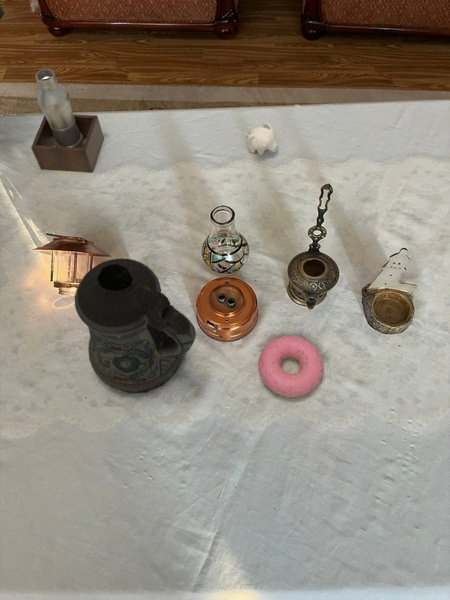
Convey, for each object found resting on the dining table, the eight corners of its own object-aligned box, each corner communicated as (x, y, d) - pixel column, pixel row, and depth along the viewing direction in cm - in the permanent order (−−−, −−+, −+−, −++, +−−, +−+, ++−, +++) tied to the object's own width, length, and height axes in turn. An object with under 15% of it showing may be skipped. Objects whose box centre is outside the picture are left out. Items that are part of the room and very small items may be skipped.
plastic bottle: (87, 140, 119) (60, 61, 101) (89, 161, 115) (62, 83, 98) (58, 145, 118) (27, 66, 101) (60, 167, 115) (28, 89, 97)
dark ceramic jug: (98, 312, 97) (57, 227, 75) (203, 309, 97) (192, 224, 75) (87, 397, 89) (38, 330, 67) (202, 395, 88) (189, 327, 67)
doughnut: (254, 344, 93) (254, 333, 89) (315, 338, 93) (318, 327, 89) (261, 403, 87) (262, 394, 84) (327, 397, 87) (331, 388, 84)
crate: (43, 175, 115) (30, 147, 108) (56, 141, 120) (45, 112, 113) (94, 178, 114) (85, 150, 107) (105, 143, 119) (97, 115, 112)
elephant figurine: (271, 166, 114) (272, 145, 109) (237, 155, 116) (237, 134, 111) (282, 145, 117) (284, 124, 112) (250, 135, 119) (250, 114, 114)
